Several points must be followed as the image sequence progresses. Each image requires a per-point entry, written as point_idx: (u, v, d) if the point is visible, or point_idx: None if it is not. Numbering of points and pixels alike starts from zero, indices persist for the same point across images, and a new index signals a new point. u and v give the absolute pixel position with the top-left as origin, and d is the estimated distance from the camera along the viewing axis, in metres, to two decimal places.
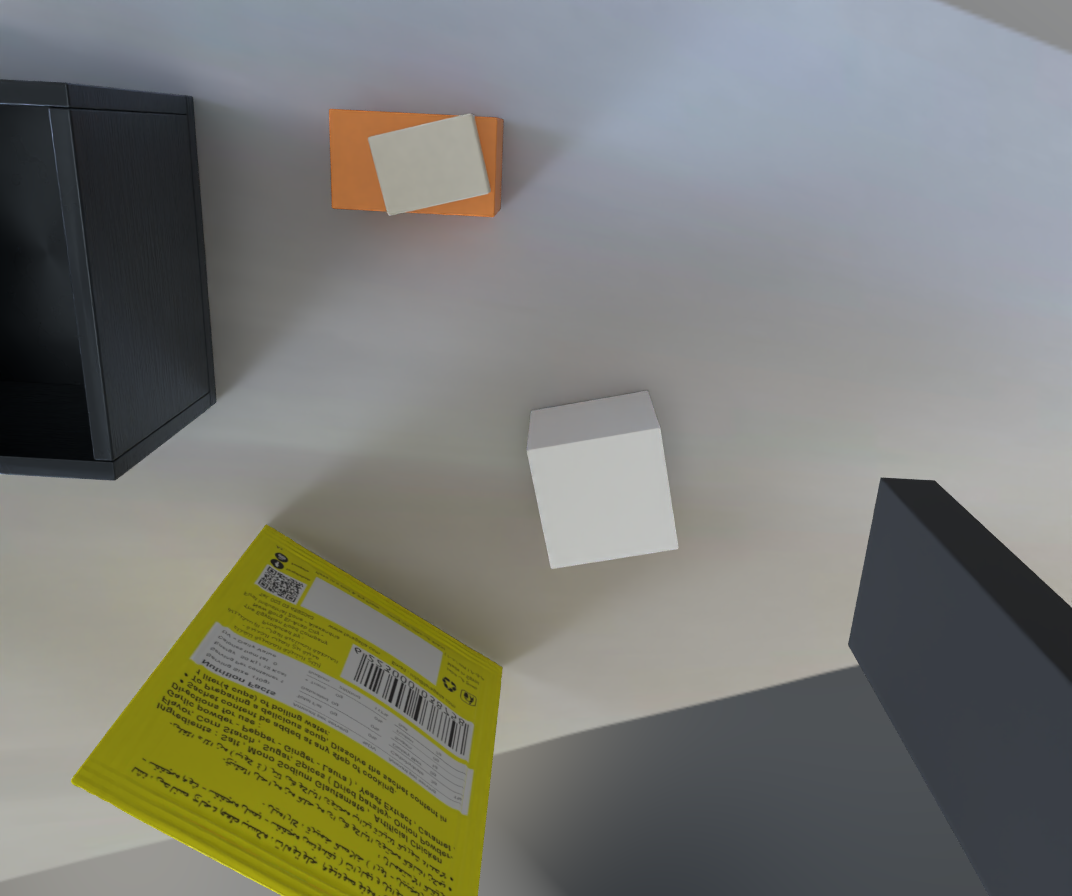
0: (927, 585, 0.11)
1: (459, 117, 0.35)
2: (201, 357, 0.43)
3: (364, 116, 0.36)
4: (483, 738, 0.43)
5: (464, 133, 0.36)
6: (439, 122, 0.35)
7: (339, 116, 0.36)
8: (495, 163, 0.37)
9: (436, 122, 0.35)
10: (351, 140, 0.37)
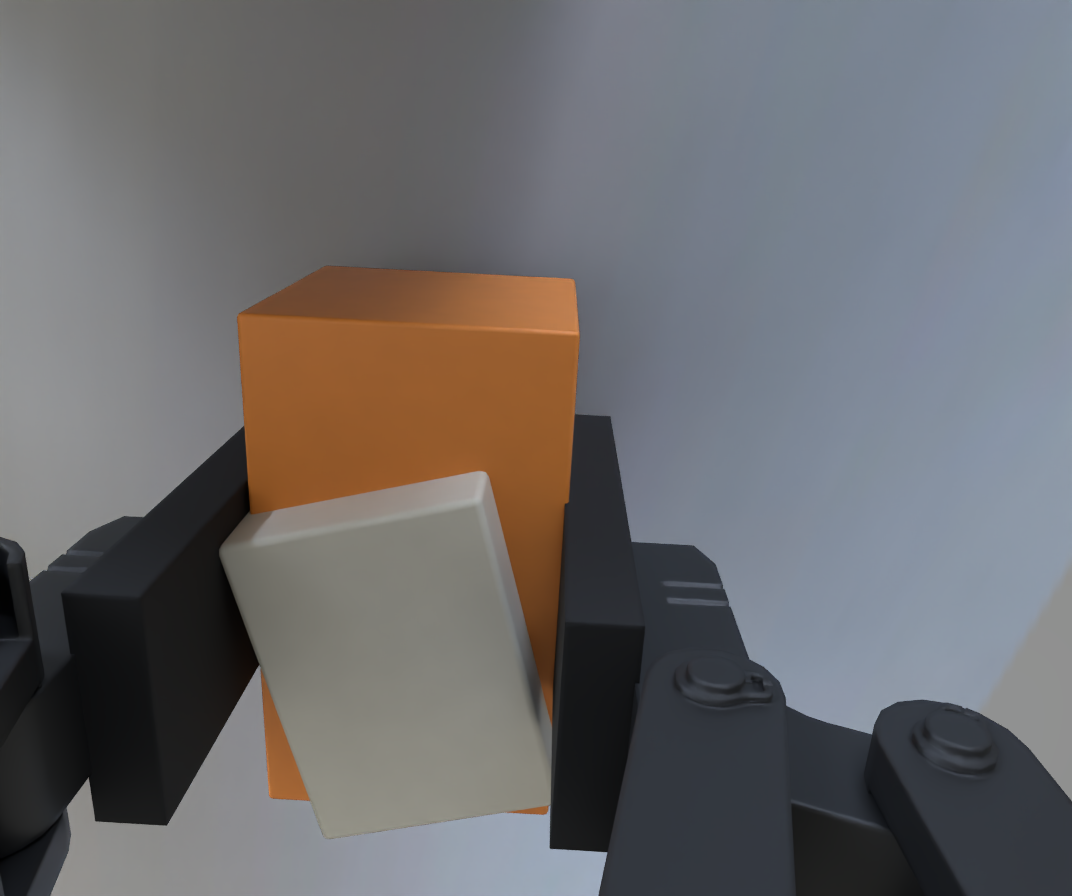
0: None
1: (546, 776, 0.11)
2: None
3: (551, 450, 0.11)
4: None
5: (498, 786, 0.11)
6: (531, 722, 0.11)
7: (554, 366, 0.10)
8: None
9: (531, 712, 0.11)
10: (476, 402, 0.10)
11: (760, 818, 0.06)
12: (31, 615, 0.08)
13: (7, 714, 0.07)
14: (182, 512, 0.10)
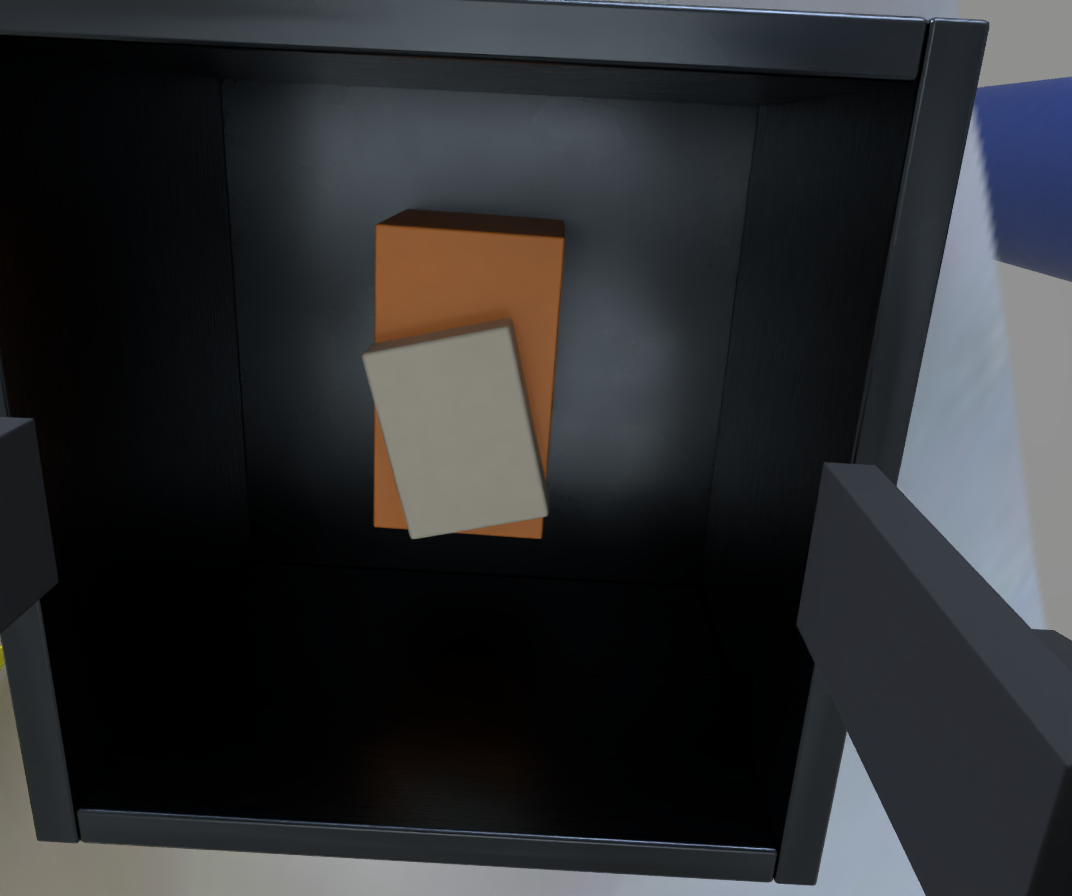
0: (859, 563, 0.11)
1: (541, 497, 0.19)
2: None
3: (548, 306, 0.19)
4: None
5: (514, 504, 0.19)
6: (534, 462, 0.19)
7: (550, 257, 0.18)
8: (465, 531, 0.21)
9: (534, 457, 0.19)
10: (506, 277, 0.19)
11: None
12: None
13: None
14: None
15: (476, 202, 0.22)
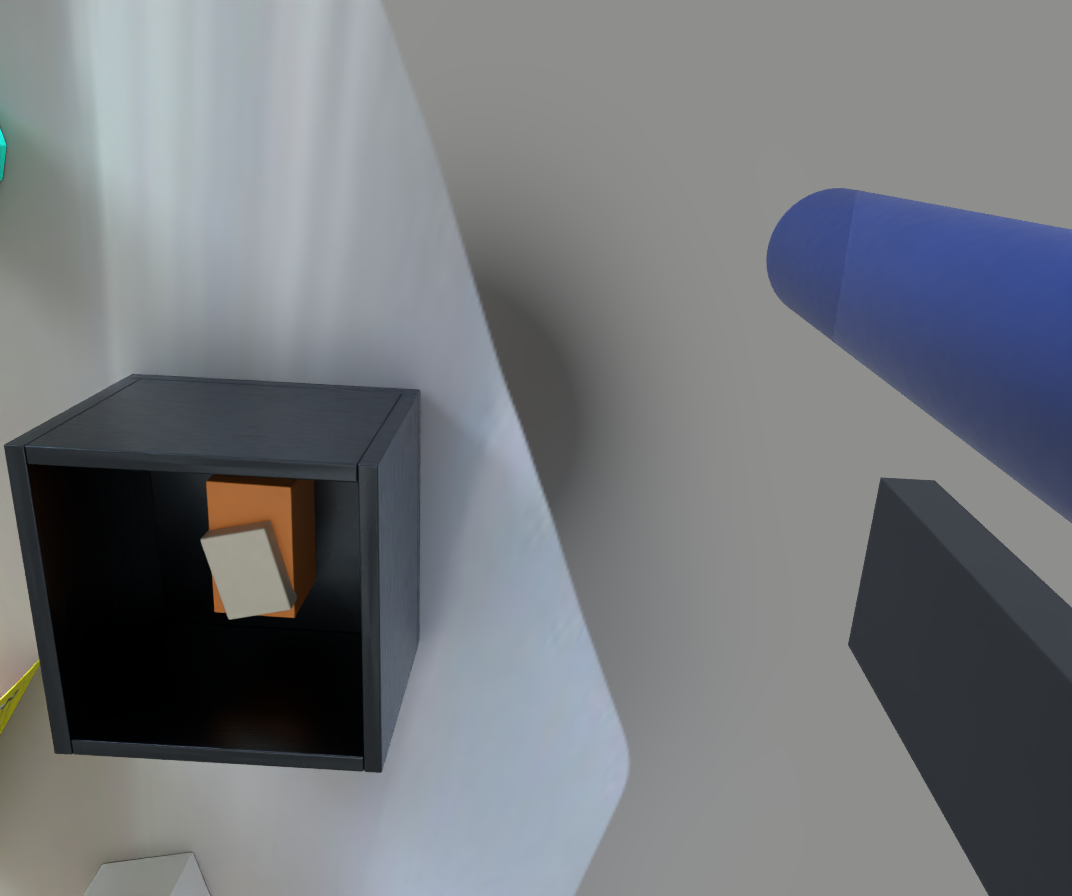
0: (926, 585, 0.11)
1: (286, 601, 0.42)
2: None
3: (286, 516, 0.41)
4: None
5: (274, 604, 0.42)
6: (281, 586, 0.42)
7: (285, 495, 0.41)
8: None
9: (281, 583, 0.41)
10: (266, 503, 0.41)
11: None
12: None
13: None
14: None
15: None
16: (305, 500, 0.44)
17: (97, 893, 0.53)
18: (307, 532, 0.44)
